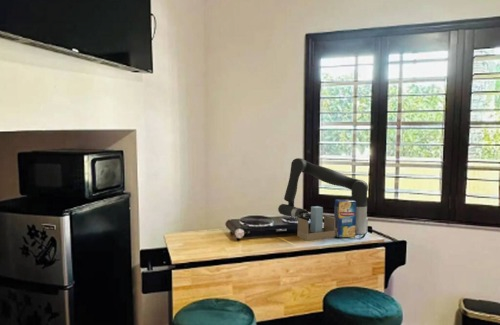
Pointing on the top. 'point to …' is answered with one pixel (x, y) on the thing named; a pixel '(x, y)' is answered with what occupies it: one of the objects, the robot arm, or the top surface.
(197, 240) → the top surface
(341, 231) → the blue food box
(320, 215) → the slate box
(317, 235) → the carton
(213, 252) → the top surface
